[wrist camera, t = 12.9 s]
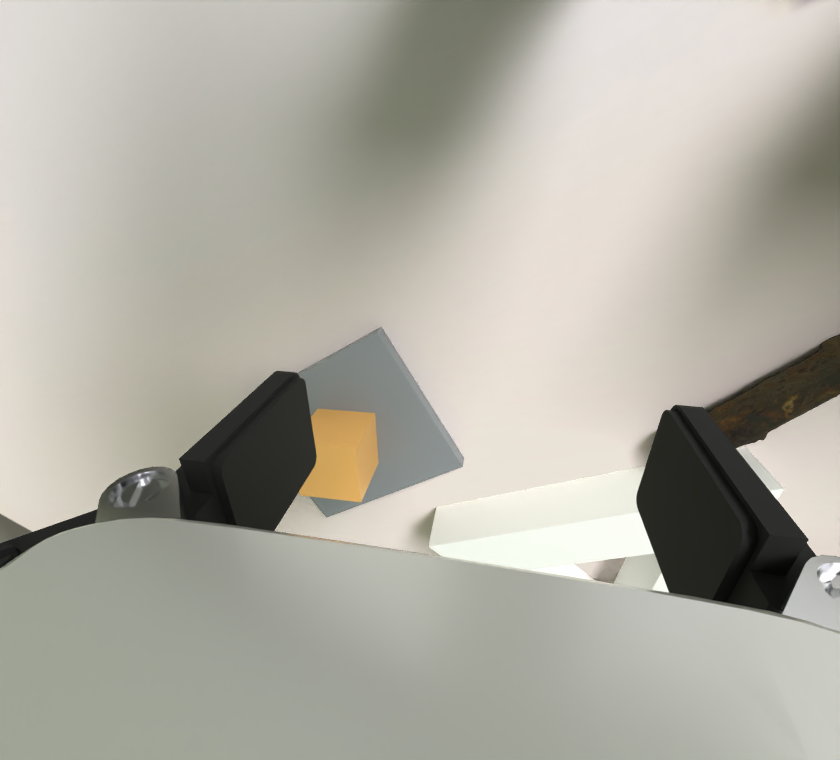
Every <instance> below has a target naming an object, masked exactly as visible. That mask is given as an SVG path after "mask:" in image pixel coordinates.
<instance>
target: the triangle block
mask: <svg viewBox="0 0 840 760" xmlns="http://www.w3.org/2000/svg"><path fill="white" fill-rule="evenodd" d="M736 449H737V450H738V452H739V453H740V454H741V455H742V457H743V458H744V459H745V460H746V462H747V463H748V464H749V465H750V467H751V468H752V469H753V470H754V472H755V473H756V474H757V475H758V477H759V478H760V479H761V480H762V482H763V483H764V484H765V486H766V487H767V488H768V489H769V491H770V492H771V493H772V494H773V496H774V497H775V498H776V499H778V497H779V496H780V494H781V493H782V492H783V490H784V489H785V488H784V487H783V486H782V485H781V484H780V483H779V482H778V481H777V480H776V479H775V478H774V477H773V476H772V474H771V473H770V472H769V471H768V470H767V469H766V468H765V467H764V466H763V465H762V464H761V463H760V462H759V460H758V459H757V458H756V457H755V456H754V455H753V454H752V453H751V452H750V451H749V450H748V449H747V448H746V446H745V447H740V448H736ZM644 469H645V466H642V467H637V468H632V469H627V470H622V471H617V472H612V473H607V474H601V475H596V476H591V477H586V478H581V479H576V480H571V481H566V482H561V483H555V484H550V485H545V486H540V487H535V488H530V489H525V490H520V491H515V492H509V493H504V494H499V495H494V496H489V497H484V498H479V499H474V500H468V501H463V502H458V503H453V504H448V505H443V506H438V507H436V512H435V516H434V521H433V526H432V531H431V536H430V541H429V546H428V547H429V548H431V549H432V550H434V551H435V552H436V553H438V554H439V555H441V556H442V557H449V558H455V559H462V560H468V561H475V562H481V563H488V564H494V565H500V566H507V567H513V568H519V569H526V570H532V571H538V572H544V573H551V574H557V575H563V576H570V577H576V578H582V579H588V580H594V579H593V578H591V577H590V576H589V575H587V574H586V573H585V572H583V571H582V570H581V569H579V568H578V567H577V566H575V565H574V564H579V563H586V562H594V561H601V560H609V559H616V558H624V557H626V559H625V561H624V563H623V565H622V567H621V569H620V571H619V573H618V575H617V577H616V579H615V581H614V583H613V584H620V585H626V586H632V587H638V588H644V589H650V590H656V591H662V592H668V593H669V591H668V588H667V586H666V583H665V580H664V578H663V575H662V572H661V570H660V567H659V564H658V562H657V559H656V556H655V554H654V551H653V548H652V546H651V543H650V540H649V538H648V535H647V532H646V530H645V527H644V524H643V522H642V519H641V516H640V514H639V511H638V508H637V503H636V496H637V491H638V488H639V485H640V482H641V479H642V476H643V473H644Z"/></svg>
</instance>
